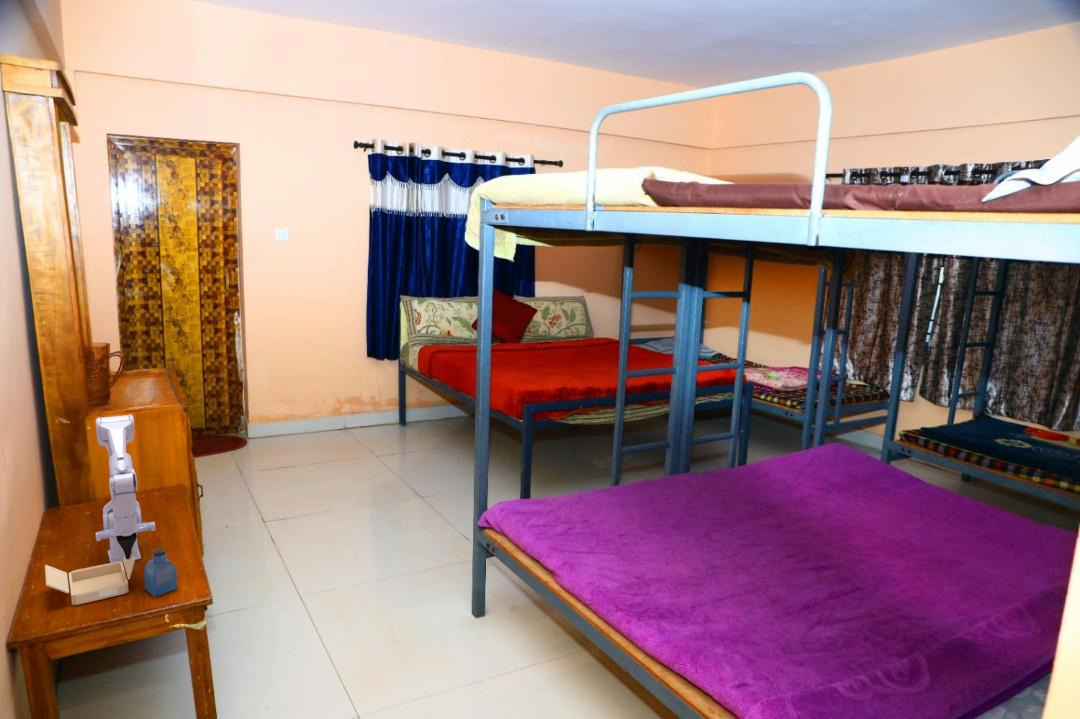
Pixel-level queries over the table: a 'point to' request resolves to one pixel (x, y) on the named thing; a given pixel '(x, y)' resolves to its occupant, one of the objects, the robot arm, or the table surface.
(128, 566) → the flap
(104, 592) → the carton
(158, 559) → the perfume bottle
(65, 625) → the table surface
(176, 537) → the table surface
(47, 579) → the flap
